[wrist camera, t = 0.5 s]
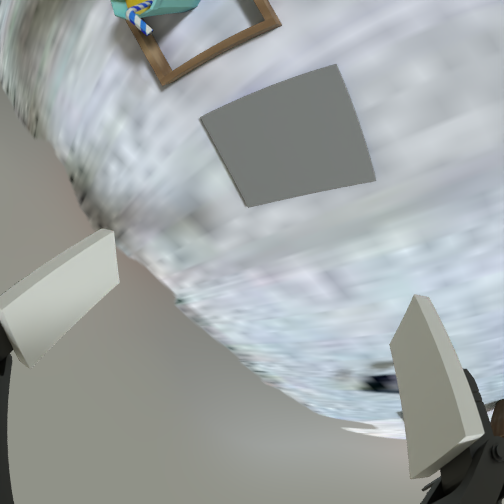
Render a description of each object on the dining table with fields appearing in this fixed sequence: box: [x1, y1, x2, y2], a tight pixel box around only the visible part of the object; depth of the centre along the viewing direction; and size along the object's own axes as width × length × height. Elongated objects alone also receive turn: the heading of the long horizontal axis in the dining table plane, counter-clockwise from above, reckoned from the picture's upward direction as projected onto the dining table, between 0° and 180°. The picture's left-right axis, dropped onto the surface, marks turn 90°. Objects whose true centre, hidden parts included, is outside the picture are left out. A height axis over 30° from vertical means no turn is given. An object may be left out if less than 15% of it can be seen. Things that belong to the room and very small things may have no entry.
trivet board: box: [200, 64, 376, 208], centre depth 35 cm, size 16×20×1 cm
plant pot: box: [490, 399, 504, 438], centre depth 53 cm, size 15×15×16 cm
